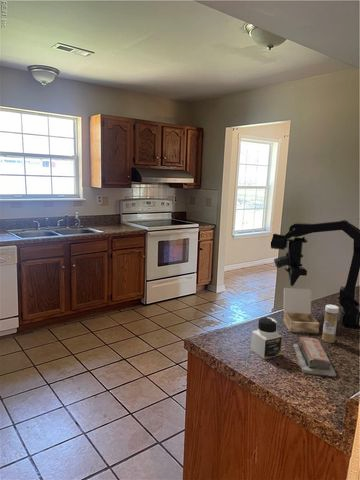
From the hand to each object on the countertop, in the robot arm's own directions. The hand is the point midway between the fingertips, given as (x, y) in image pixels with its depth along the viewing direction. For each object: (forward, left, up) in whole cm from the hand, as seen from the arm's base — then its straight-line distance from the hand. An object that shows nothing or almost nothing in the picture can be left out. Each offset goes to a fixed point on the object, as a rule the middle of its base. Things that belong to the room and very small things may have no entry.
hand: (291, 285), depth 153 cm
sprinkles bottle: (-7, +27, -13) cm, 31 cm away
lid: (0, +10, -4) cm, 10 cm away
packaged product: (+4, +43, -13) cm, 45 cm away
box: (0, +16, -12) cm, 20 cm away
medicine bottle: (+19, +39, -13) cm, 45 cm away
